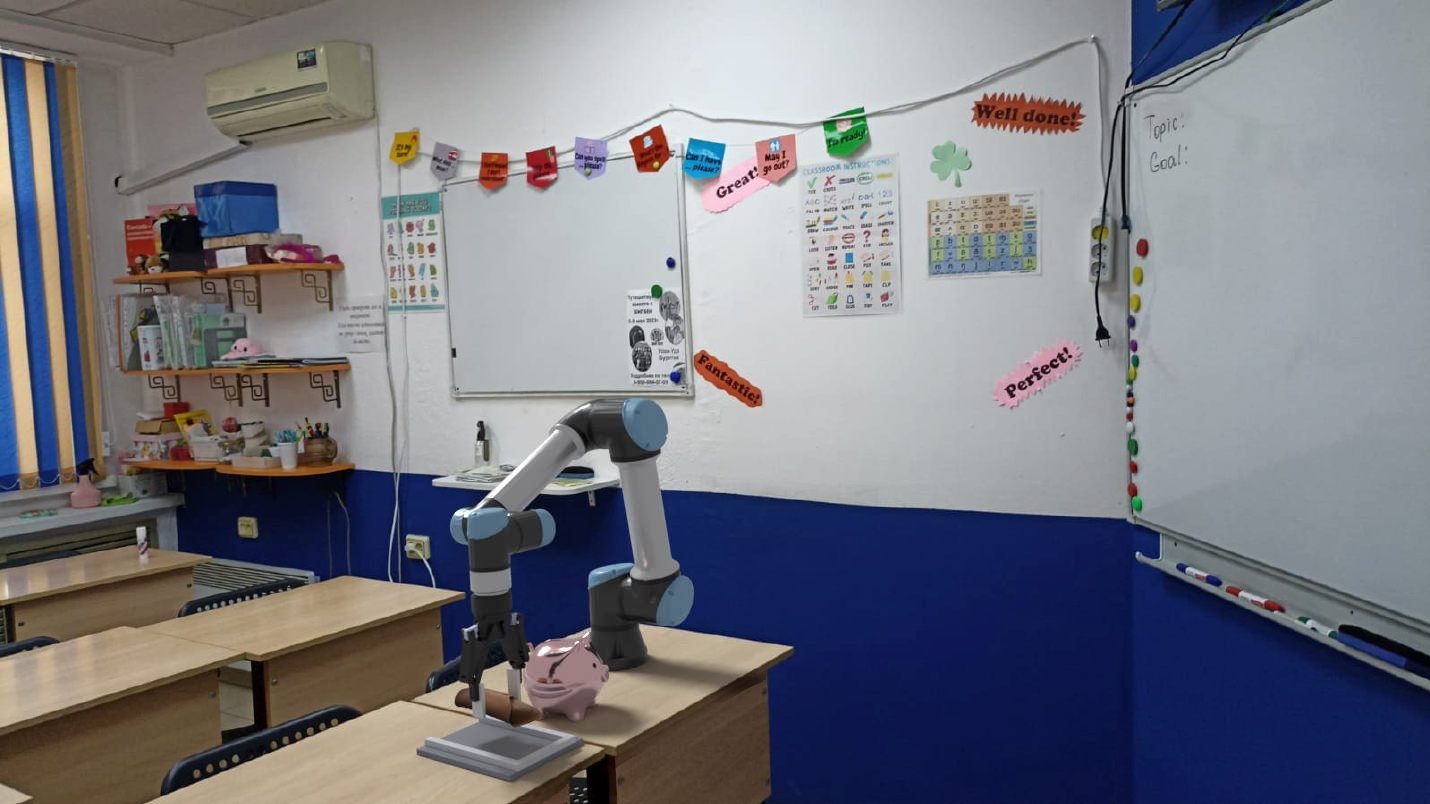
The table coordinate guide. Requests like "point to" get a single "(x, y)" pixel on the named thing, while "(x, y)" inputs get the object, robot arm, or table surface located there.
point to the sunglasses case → (501, 707)
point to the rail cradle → (499, 748)
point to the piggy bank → (564, 676)
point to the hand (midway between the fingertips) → (497, 709)
